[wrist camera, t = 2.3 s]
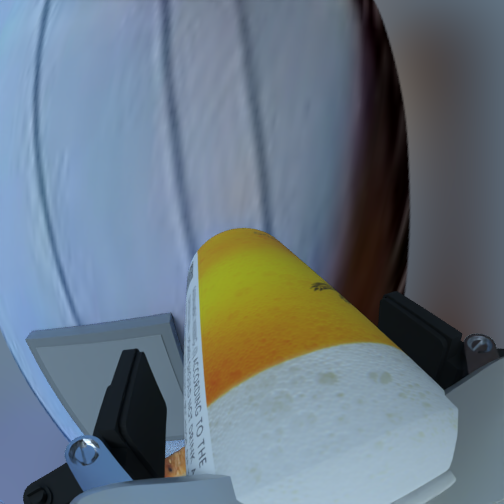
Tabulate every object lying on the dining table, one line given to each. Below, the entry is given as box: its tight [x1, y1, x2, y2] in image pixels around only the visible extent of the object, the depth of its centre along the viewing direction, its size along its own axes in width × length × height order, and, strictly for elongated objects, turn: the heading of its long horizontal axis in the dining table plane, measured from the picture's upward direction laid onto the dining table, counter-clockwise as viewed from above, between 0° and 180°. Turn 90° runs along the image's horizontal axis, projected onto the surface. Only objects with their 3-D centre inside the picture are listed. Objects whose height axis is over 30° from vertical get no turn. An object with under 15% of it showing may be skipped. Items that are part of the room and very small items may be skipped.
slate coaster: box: [25, 313, 185, 441], centre depth 17 cm, size 11×11×1 cm
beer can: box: [184, 228, 458, 504], centre depth 10 cm, size 6×6×15 cm
